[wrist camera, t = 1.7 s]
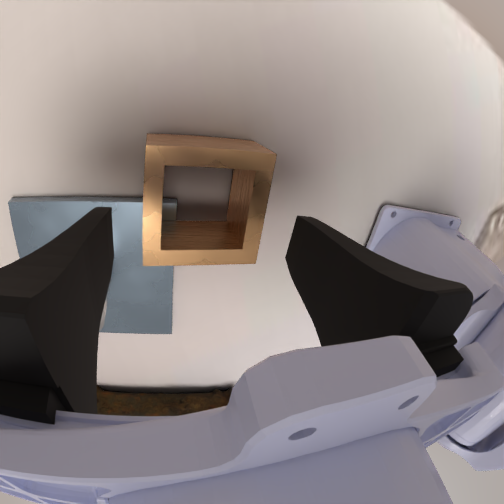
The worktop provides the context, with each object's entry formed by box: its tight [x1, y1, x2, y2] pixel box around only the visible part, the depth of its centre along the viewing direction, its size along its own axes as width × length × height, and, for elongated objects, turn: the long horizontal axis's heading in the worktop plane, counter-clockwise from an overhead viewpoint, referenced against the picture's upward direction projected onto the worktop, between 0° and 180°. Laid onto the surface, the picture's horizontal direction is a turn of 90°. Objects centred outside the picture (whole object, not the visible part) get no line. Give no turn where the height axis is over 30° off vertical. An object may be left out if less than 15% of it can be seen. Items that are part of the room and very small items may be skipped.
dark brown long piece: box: [97, 385, 232, 416], centre depth 24 cm, size 19×4×5 cm, turn 75°
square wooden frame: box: [143, 134, 277, 266], centre depth 14 cm, size 5×5×3 cm
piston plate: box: [8, 197, 177, 334], centre depth 16 cm, size 10×10×4 cm
